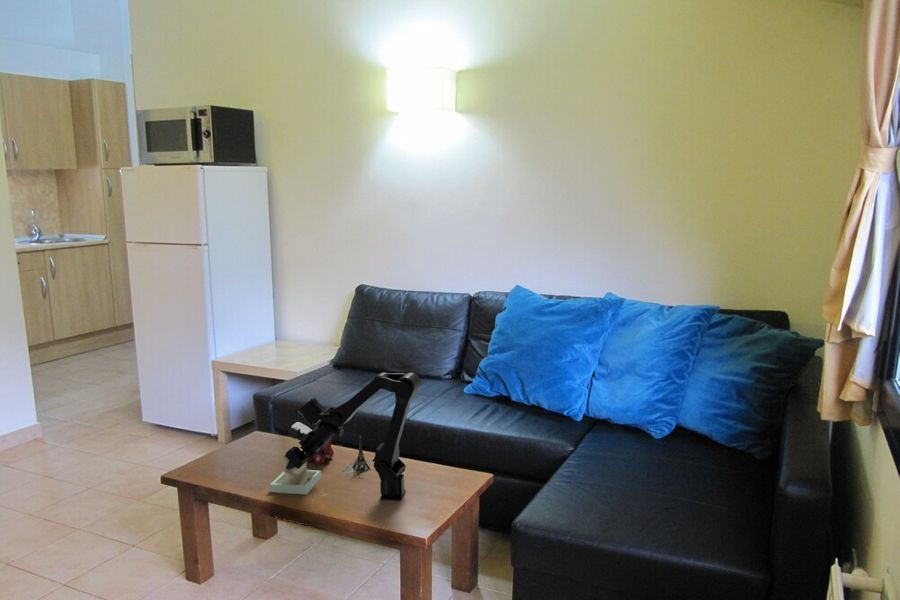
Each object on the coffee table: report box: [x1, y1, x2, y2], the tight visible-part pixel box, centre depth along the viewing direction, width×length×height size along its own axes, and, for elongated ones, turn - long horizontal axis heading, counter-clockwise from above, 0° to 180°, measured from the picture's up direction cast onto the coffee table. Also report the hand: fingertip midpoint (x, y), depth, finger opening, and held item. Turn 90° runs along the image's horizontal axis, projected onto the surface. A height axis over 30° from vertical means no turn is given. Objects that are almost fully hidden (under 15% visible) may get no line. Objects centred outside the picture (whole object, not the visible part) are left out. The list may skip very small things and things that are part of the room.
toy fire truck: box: [300, 436, 335, 465], centre depth 234 cm, size 7×12×10 cm, turn 64°
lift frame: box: [269, 469, 322, 495], centre depth 214 cm, size 12×12×2 cm
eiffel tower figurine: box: [341, 435, 372, 479], centre depth 226 cm, size 15×10×13 cm
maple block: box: [282, 448, 308, 485], centre depth 214 cm, size 5×6×11 cm
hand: (291, 464), depth 214 cm, fingers closed on maple block, 5 cm apart
